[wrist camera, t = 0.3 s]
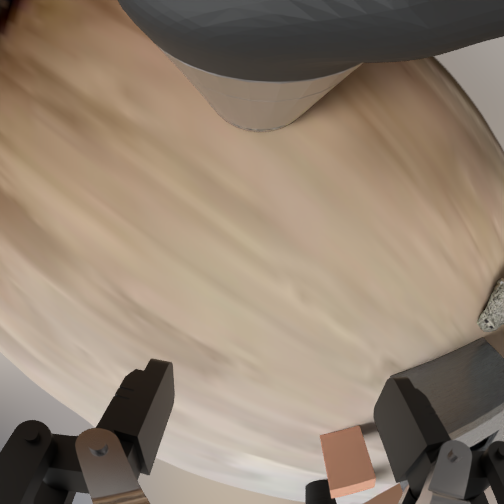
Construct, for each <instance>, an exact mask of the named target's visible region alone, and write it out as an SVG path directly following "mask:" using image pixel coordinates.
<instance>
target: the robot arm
mask: <svg viewBox="0 0 504 504" xmlns="http://www.w3.org/2000/svg"><path fill="white" fill-rule="evenodd" d="M118 2H119V3H120V5H121V7H122V8H123V10H124V11H125V12H126V13H127V14H128V16H129V17H130V18H131V19H132V21H133V22H134V23H135V24H136V25H137V26H138V27H139V28H140V29H141V30H142V31H143V32H144V33H145V34H146V35H147V36H148V37H149V38H150V39H151V40H152V41H153V42H154V43H155V44H156V45H157V46H158V47H159V48H160V50H161V51H162V52H163V53H164V54H165V55H166V56H167V57H168V58H169V59H170V60H171V61H172V62H173V63H174V64H175V65H176V66H177V67H178V68H179V70H180V71H181V72H182V73H183V74H184V75H185V76H186V77H187V78H188V80H189V81H190V82H191V83H192V84H193V85H194V86H195V88H196V89H197V90H198V91H199V92H200V93H201V94H202V96H203V97H204V98H205V99H206V100H207V101H208V103H209V104H210V105H211V106H212V107H213V109H214V110H215V111H216V112H217V113H218V114H219V115H220V116H221V117H222V118H223V119H224V120H225V121H227V122H228V123H230V124H232V125H234V126H235V127H238V128H241V129H244V130H247V131H254V132H267V131H273V130H277V129H281V128H283V127H285V126H287V125H289V124H291V123H292V122H293V121H295V120H296V119H297V118H298V117H300V116H301V115H302V114H303V113H304V112H306V111H307V110H308V109H309V108H310V107H311V106H313V105H314V104H315V103H316V102H317V101H318V100H319V99H321V98H322V97H323V96H324V95H325V94H327V93H328V92H329V91H330V90H331V89H332V88H334V87H335V86H336V85H337V84H338V83H340V82H341V81H342V80H343V79H344V78H345V77H347V76H348V75H349V74H350V73H352V72H353V71H354V70H355V69H356V68H358V67H359V66H360V65H362V64H363V63H378V62H397V61H409V60H415V59H422V58H427V57H431V56H436V55H440V54H443V53H447V52H450V51H454V50H457V49H460V48H464V47H467V46H469V45H473V44H476V43H480V42H483V41H486V40H490V39H495V38H498V37H503V36H504V0H118ZM174 394H175V393H174V378H173V365H172V362H167V361H162V360H157V359H151V360H150V361H149V363H148V365H147V367H146V368H145V370H144V371H142V370H138V369H135V370H134V371H133V372H131V373H130V374H128V375H127V376H126V377H125V378H124V380H123V382H122V383H121V385H120V388H118V390H117V392H116V394H115V396H114V397H113V399H112V400H111V402H110V404H109V406H108V407H107V409H106V411H105V413H104V414H103V416H102V418H101V420H100V422H99V423H98V425H97V426H96V428H92V429H88V430H86V431H84V432H82V433H81V434H80V435H79V436H67V435H59V434H52V433H51V431H50V430H49V428H48V427H47V426H46V425H45V424H44V423H42V422H39V421H36V420H29V421H25V422H23V423H21V424H19V425H18V426H17V427H16V429H15V430H14V432H13V433H12V435H11V436H10V438H9V440H8V441H7V443H6V444H5V446H4V447H3V449H2V451H1V452H0V504H72V502H73V499H74V496H75V494H76V492H80V493H89V494H90V496H91V499H92V501H93V504H150V503H149V501H148V499H147V498H146V496H145V494H144V493H143V491H142V489H141V487H140V485H139V483H138V481H137V480H138V477H139V475H140V473H143V474H146V475H150V472H151V469H152V466H153V463H154V460H155V457H156V454H157V451H158V448H159V445H160V442H161V439H162V436H163V434H164V431H165V428H166V425H167V422H168V419H169V416H170V413H171V410H172V407H173V403H174ZM374 420H375V423H376V426H377V429H378V431H379V434H380V437H381V440H382V443H383V445H384V448H385V451H386V454H387V457H388V460H389V463H390V466H391V468H392V471H393V474H394V477H395V481H396V483H397V482H402V481H406V480H408V483H409V485H408V486H407V487H406V488H405V490H404V492H403V495H402V497H401V499H400V501H399V503H398V504H489V503H488V501H487V498H486V496H485V493H484V490H485V489H487V488H488V487H489V486H491V488H492V490H493V493H494V495H495V498H496V500H497V503H498V504H504V441H495V442H493V443H491V445H490V446H489V447H488V448H487V449H486V451H471V450H470V448H469V447H468V446H467V445H466V444H465V443H463V442H461V441H457V440H451V438H450V436H449V435H448V433H447V431H446V429H445V427H444V426H443V424H442V422H441V420H440V419H439V417H438V415H437V414H436V412H435V410H434V408H433V407H432V405H431V403H430V401H429V400H428V398H427V396H426V395H425V394H423V393H422V392H421V391H420V390H419V389H418V388H416V389H415V387H414V386H413V384H412V382H411V381H410V379H409V378H408V377H396V378H389V379H388V380H387V381H386V383H385V386H384V388H383V390H382V392H381V394H380V396H379V399H378V401H377V403H376V405H375V408H374Z"/></svg>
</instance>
